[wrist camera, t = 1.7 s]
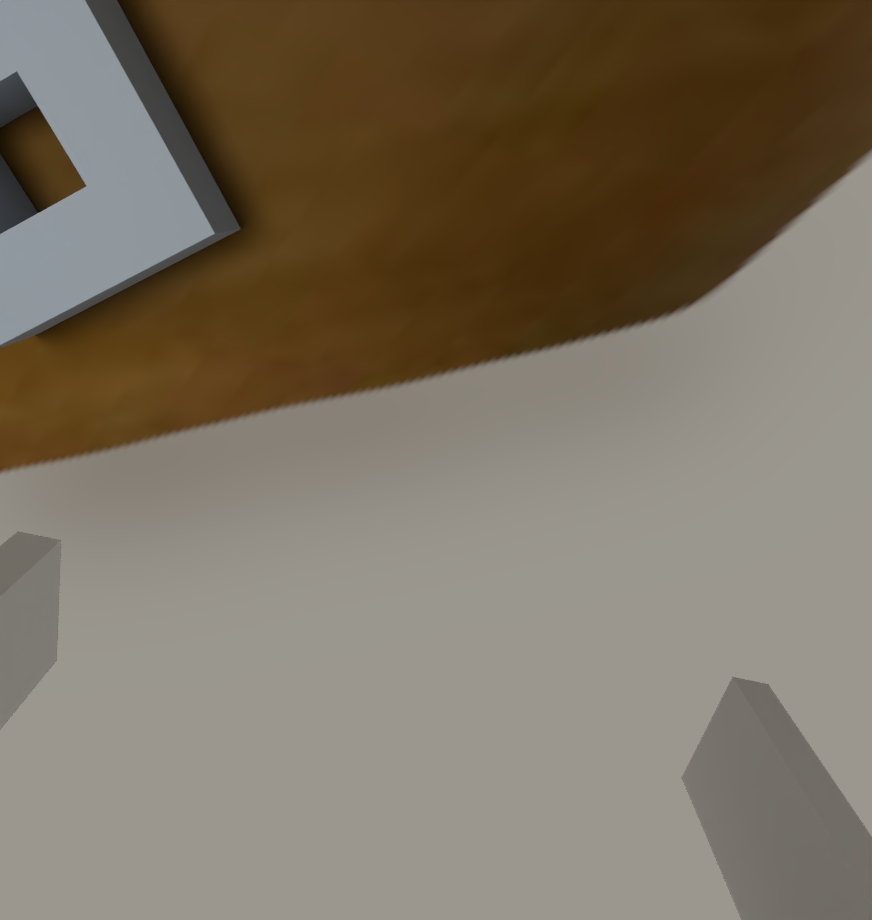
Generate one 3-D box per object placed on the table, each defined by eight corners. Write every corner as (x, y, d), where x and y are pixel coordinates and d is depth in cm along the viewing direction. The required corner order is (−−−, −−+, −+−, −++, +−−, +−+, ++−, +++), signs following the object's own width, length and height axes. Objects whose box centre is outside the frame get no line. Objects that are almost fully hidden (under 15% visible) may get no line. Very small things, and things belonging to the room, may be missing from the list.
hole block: (-136, 88, 29) (-219, 73, 25) (89, -51, 27) (35, -89, 24) (34, 335, 33) (-16, 353, 30) (241, 229, 31) (214, 233, 28)
